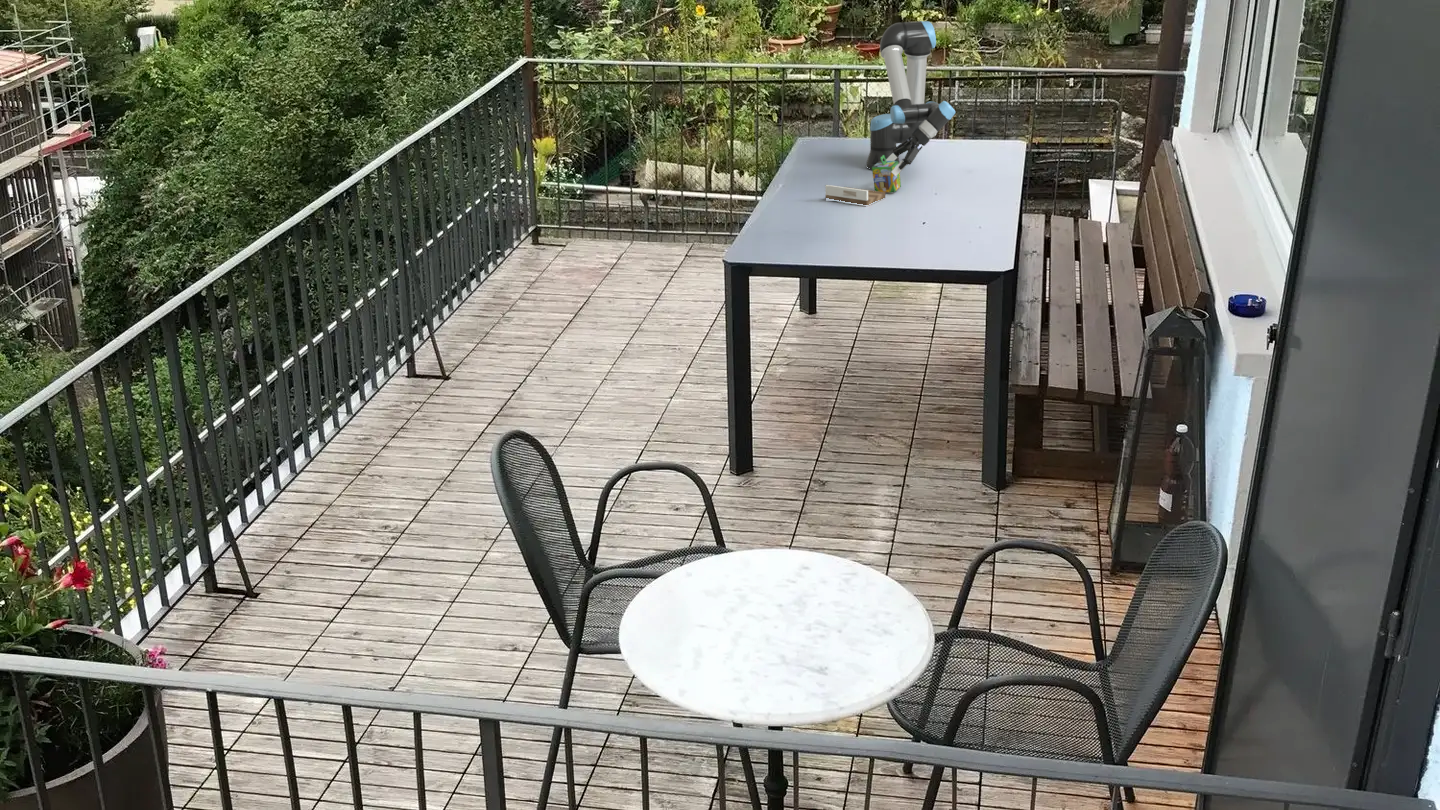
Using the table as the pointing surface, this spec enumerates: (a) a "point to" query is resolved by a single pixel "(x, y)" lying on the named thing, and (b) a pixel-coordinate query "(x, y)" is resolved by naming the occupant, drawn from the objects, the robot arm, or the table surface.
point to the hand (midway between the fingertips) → (888, 170)
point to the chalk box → (885, 176)
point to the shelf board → (853, 194)
